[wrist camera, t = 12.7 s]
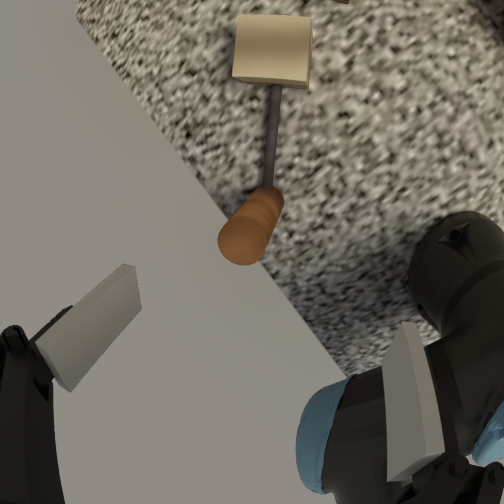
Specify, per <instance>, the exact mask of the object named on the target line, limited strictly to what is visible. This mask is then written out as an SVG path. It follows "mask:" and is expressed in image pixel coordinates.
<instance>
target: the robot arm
mask: <svg viewBox="0 0 504 504" xmlns="http://www.w3.org/2000/svg"><path fill="white" fill-rule="evenodd" d="M408 287H409V292H410V295H411V298H412V300H413V303H414V305H415V307H416V309H417V311H418V313H419V314H420V315H421V316H422V317H423V318H424V319H425V320H426V321H427V322H428V323H429V324H430V325H431V326H432V327H433V328H434V329H435V330H436V331H437V332H438V333H439V334H440V335H441V336H442V338H441V339H439V340H437V341H435V342H433V343H431V344H429V345H427V346H425V347H423V344H422V341H421V337H420V334H419V331H418V328H417V325H416V323H411V322H404V321H402V322H401V325H400V327H399V329H398V331H397V333H396V335H395V337H394V339H393V341H392V343H391V345H390V347H389V349H388V350H387V352H386V354H385V356H384V358H383V360H382V361H381V364H382V365H381V366H379V367H376V368H374V369H371V370H369V371H366V372H363V373H361V374H352V375H351V376H349V377H347V379H345V380H342V381H340V382H337V383H335V384H332V385H329V386H326V387H324V388H322V389H320V390H319V391H318V392H316V393H315V394H314V395H313V396H312V397H311V399H310V400H309V401H308V404H307V405H306V406H305V408H304V411H303V413H302V415H301V420H300V424H299V426H298V430H297V437H296V461H297V468H298V472H299V476H300V478H301V480H302V482H303V484H304V485H305V486H306V488H308V489H310V490H311V491H313V492H315V493H320V494H322V495H323V494H327V493H330V492H332V493H333V494H334V496H335V500H336V503H337V504H500V500H501V496H502V492H503V488H504V466H503V465H502V464H501V463H499V462H494V461H496V460H498V459H501V458H503V457H504V232H503V231H502V229H501V228H500V227H499V226H498V225H497V224H495V223H494V222H493V221H492V220H491V219H489V218H488V217H486V216H484V215H482V214H480V213H475V212H462V213H458V214H455V215H452V216H449V217H448V218H446V219H444V220H442V221H441V222H439V223H438V224H437V225H435V226H434V227H433V228H432V229H431V230H430V231H429V232H428V233H427V234H426V235H425V237H424V238H423V239H422V241H421V242H420V244H419V245H418V247H417V249H416V251H415V253H414V255H413V257H412V260H411V263H410V267H409V273H408ZM141 309H142V306H141V301H140V295H139V289H138V283H137V276H136V269H135V267H134V266H131V265H127V264H123V265H121V266H120V267H119V268H118V269H116V270H115V271H114V272H113V273H112V274H111V275H109V276H108V277H107V278H106V279H104V280H103V281H102V282H101V283H100V284H99V285H97V286H96V287H95V288H94V289H93V290H92V291H90V292H89V293H88V294H87V295H86V296H85V297H83V298H82V299H81V300H80V301H79V302H78V303H77V304H76V305H74V306H73V305H71V306H69V307H67V308H65V309H63V310H62V311H61V312H59V313H58V314H57V315H56V316H55V318H53V319H52V320H51V321H50V323H49V322H48V323H47V324H46V325H45V326H44V327H43V328H42V329H41V330H40V331H39V332H38V333H37V334H36V335H34V337H32V338H31V339H30V340H29V341H28V339H27V337H26V335H25V333H24V331H23V329H22V328H21V327H20V326H19V325H12V326H9V327H7V328H6V329H5V330H4V331H3V332H2V333H1V335H0V504H65V501H64V496H63V491H62V486H61V481H60V475H59V468H58V461H57V454H56V443H55V431H54V412H53V383H52V379H53V378H54V377H55V379H56V380H57V382H58V384H59V385H60V386H61V387H63V388H64V389H66V390H67V391H69V392H72V390H73V389H74V388H75V387H76V385H77V384H78V383H79V382H80V381H81V379H82V378H83V377H84V376H85V374H86V373H87V372H88V371H89V370H90V368H91V367H92V366H93V365H94V364H95V362H96V361H97V360H98V358H100V356H101V355H102V354H103V353H104V352H105V350H107V348H108V347H109V346H110V345H111V344H112V343H113V341H114V340H115V339H116V338H117V337H118V335H119V334H120V333H121V332H122V331H123V330H124V328H126V326H127V325H128V324H129V323H130V322H131V321H132V320H133V318H134V317H135V316H136V315H137V314H138V313H139V312H140V310H141ZM470 454H472V459H473V460H475V462H476V463H477V464H478V465H487V464H489V465H487V466H486V467H480V466H475V465H471V464H469V461H468V459H467V458H466V457H465V456H468V455H470Z"/></svg>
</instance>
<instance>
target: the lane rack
mask: <svg viewBox="0 0 504 504" xmlns="http://www.w3.org/2000/svg"><path fill="white" fill-rule="evenodd" d="M337 2H340V3H345V4H349V0H337Z"/></svg>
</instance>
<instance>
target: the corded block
mask: <svg viewBox="0 0 504 504" xmlns="http://www.w3.org/2000/svg"><path fill="white" fill-rule="evenodd" d="M312 44H313V32H312V22H311V18H310V17H300V16H286V15H238V19H237V29H236V39H235V49H234V60H233V71H232V77H235V78H237V79H239V80H241V81H244V82H246V83H248V84H257V85H272V86H271V97H270V108H269V119H268V130H267V141H266V152H265V163H264V174H263V185H262V186H260V187H258V188H257V189H256V190H255V191H254V192H253V193H252V194H251V195H250V196H249V198H248V199H247V200H246V201H245V202H244V203H243V204H242V206H241V207H240V208H239V209H238V210H237V211H236V212H235V214H234V215H233V216H232V217H231V218H230V219H229V221H228V222H227V223H226V224H225V225H224V226H223V228H222V229H221V231H220V232H219V235H218V246H219V249H220V251H221V253H222V254H223V255H224V257H225V258H226V259H228V260H229V261H231V262H232V263H235V264H238V265H250V264H253V263H256V262H257V261H258V260H259V259H260V258H261V257H262V256H263V254H264V251H265V249H266V247H267V244H268V242H269V240H270V237H271V235H272V232H273V230H274V228H275V225H276V223H277V220H278V218H279V216H280V213H281V211H282V208H283V206H284V198H283V195H282V193H281V192H280V191H279V190H278V189H277V188H276V187H274V186H272V184H273V174H274V164H275V154H276V144H277V134H278V124H279V113H280V103H281V92H282V86H283V87H293V88H302V89H309V80H310V69H311V57H312Z"/></svg>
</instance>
